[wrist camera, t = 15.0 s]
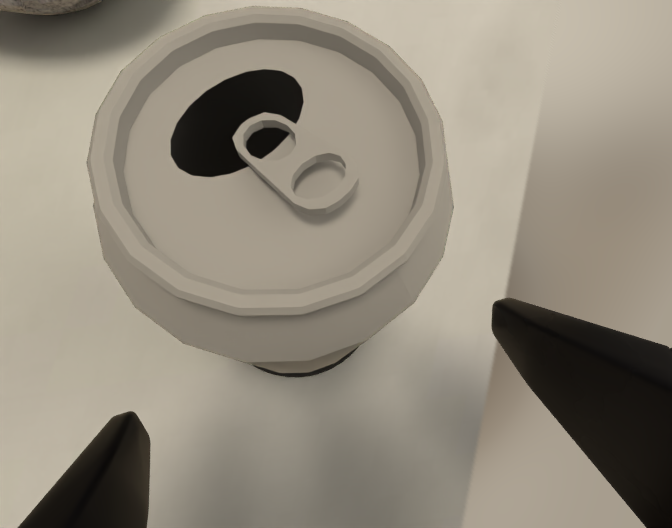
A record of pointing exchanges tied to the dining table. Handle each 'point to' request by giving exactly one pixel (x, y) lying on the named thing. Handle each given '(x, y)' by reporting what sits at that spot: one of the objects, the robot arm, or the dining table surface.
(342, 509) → the dining table surface
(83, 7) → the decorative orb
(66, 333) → the dining table surface
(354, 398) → the dining table surface
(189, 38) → the can
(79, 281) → the dining table surface
